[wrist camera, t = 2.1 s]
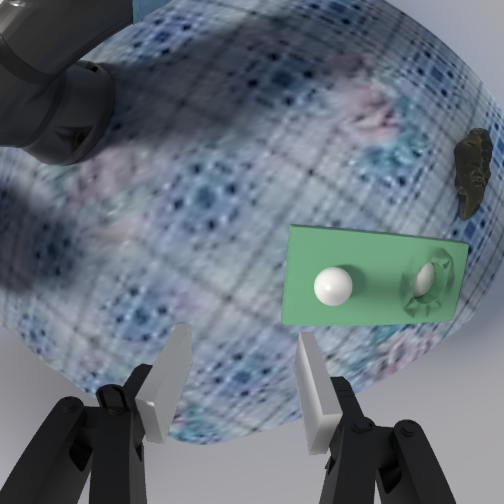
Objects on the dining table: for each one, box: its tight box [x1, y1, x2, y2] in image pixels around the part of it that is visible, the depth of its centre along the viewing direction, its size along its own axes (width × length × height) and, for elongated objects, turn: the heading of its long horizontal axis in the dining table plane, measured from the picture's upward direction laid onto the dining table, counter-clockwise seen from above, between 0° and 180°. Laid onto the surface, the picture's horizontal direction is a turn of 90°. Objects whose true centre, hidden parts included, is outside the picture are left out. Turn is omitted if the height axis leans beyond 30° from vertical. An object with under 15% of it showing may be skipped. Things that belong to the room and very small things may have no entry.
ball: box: [314, 267, 353, 306], centre depth 27 cm, size 4×4×4 cm
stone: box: [454, 128, 493, 221], centre depth 26 cm, size 7×13×5 cm, turn 169°
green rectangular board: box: [281, 224, 469, 326], centre depth 30 cm, size 25×11×2 cm, turn 87°
